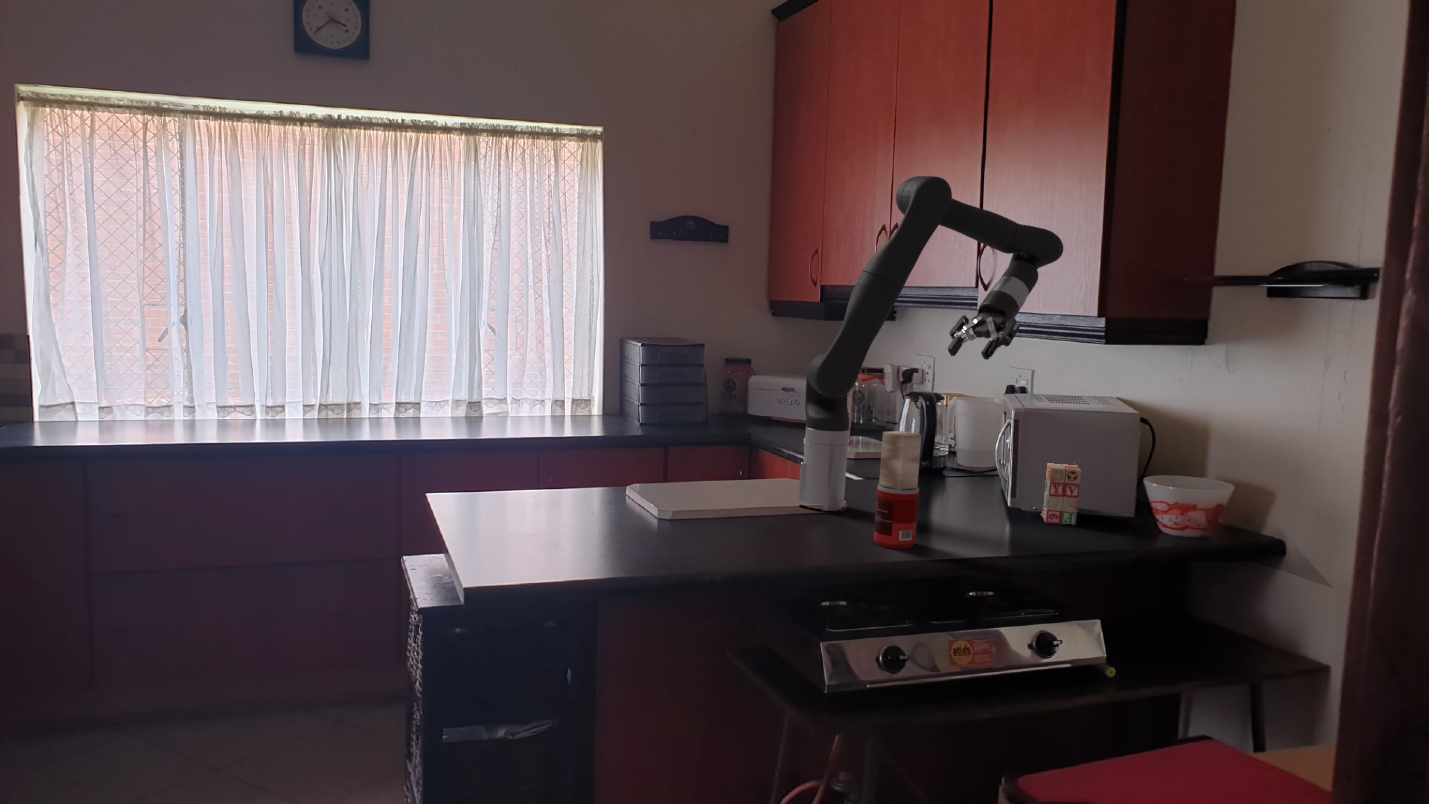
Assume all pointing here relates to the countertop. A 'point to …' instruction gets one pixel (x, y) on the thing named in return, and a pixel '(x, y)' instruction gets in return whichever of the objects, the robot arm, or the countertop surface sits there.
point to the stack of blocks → (1061, 493)
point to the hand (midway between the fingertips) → (967, 355)
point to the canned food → (896, 517)
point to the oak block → (900, 460)
